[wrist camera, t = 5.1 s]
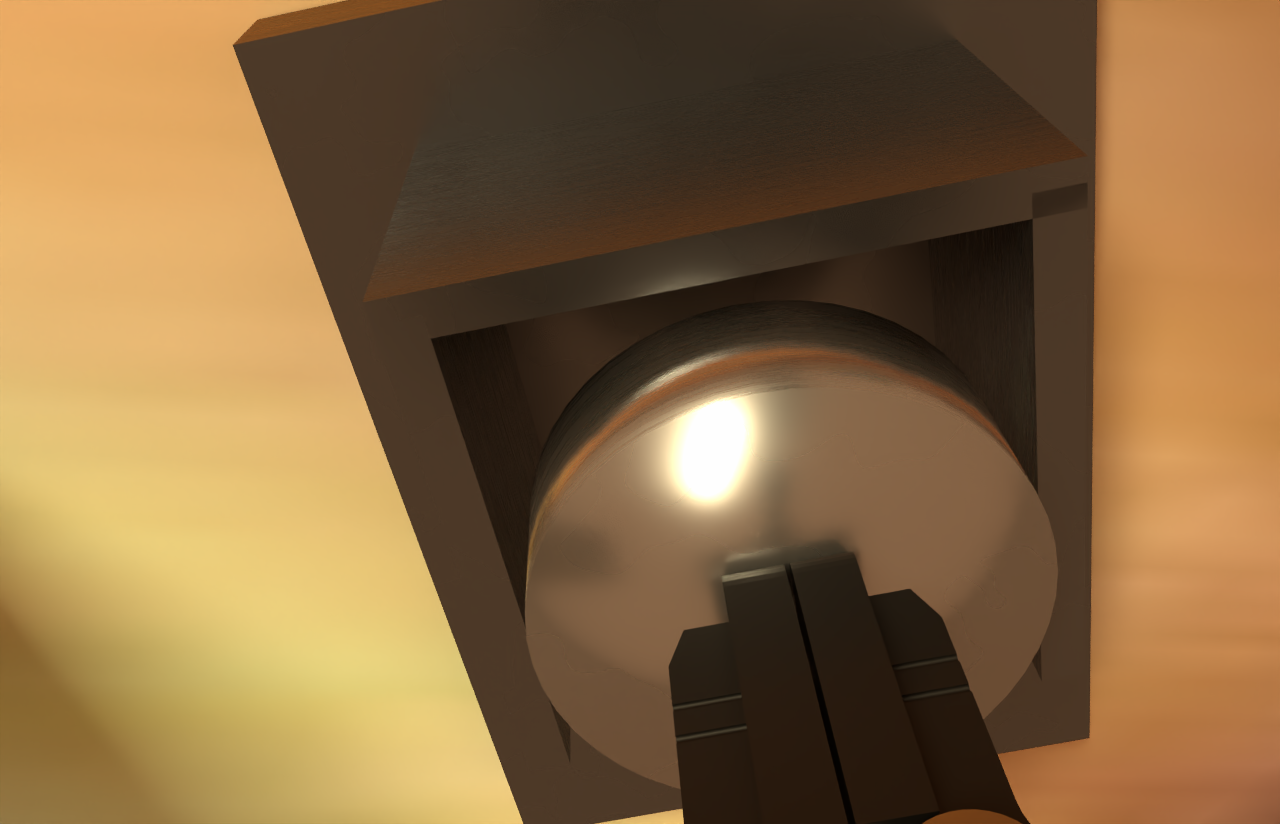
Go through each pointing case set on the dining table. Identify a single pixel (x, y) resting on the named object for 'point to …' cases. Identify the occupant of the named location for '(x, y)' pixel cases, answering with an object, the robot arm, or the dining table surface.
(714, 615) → the plunger
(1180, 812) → the dining table surface
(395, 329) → the stand
